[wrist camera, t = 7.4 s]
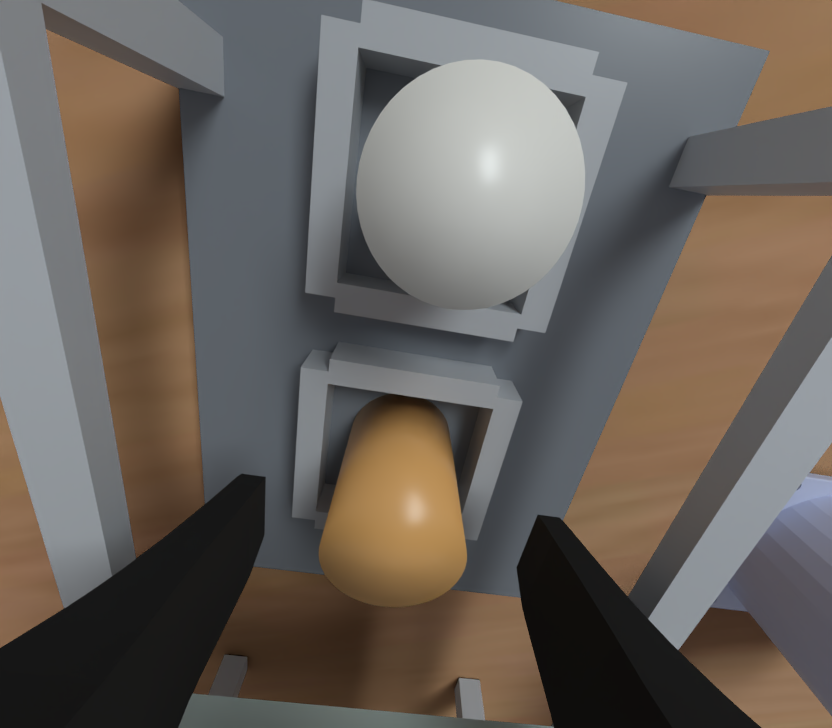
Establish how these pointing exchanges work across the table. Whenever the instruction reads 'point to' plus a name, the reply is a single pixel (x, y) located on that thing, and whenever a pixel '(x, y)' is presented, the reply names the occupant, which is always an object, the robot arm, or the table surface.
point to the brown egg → (395, 507)
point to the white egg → (470, 184)
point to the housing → (379, 296)
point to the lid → (312, 716)
